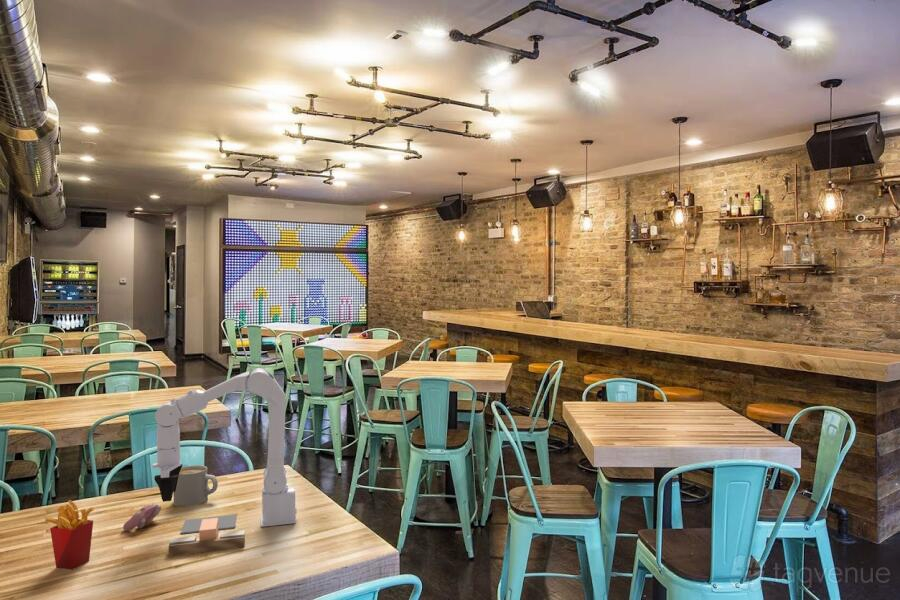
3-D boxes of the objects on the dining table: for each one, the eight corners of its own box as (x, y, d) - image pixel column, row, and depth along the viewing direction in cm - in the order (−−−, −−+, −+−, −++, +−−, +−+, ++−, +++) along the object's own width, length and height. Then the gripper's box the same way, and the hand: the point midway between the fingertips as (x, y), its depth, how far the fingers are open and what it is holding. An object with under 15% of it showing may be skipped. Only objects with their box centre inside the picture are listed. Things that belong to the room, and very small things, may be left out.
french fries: (95, 559, 151) (94, 499, 150) (67, 574, 142) (66, 511, 142) (66, 556, 153) (64, 497, 152) (36, 571, 144) (35, 508, 144)
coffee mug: (166, 505, 189) (166, 473, 189) (187, 494, 198) (186, 464, 198) (204, 508, 186) (204, 475, 186) (223, 497, 195) (223, 466, 195)
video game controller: (133, 538, 167) (142, 516, 167) (120, 529, 168) (129, 508, 167) (157, 524, 177) (166, 504, 176) (144, 516, 178) (154, 496, 177)
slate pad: (236, 515, 180) (236, 514, 180) (234, 528, 170) (234, 526, 170) (185, 521, 175) (185, 519, 175) (180, 534, 166) (180, 532, 166)
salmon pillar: (218, 535, 165) (218, 517, 165) (216, 547, 157) (215, 528, 157) (202, 537, 164) (202, 519, 164) (199, 549, 156) (199, 530, 156)
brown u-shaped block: (244, 540, 161) (244, 529, 161) (244, 546, 157) (244, 535, 157) (171, 549, 156) (170, 538, 156) (168, 556, 152) (168, 544, 152)
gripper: (157, 441, 172) (157, 489, 173) (147, 455, 158) (148, 506, 159) (184, 440, 174) (184, 487, 175) (176, 452, 161) (177, 503, 161)
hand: (169, 496), depth 167 cm, fingers open, 7 cm apart
